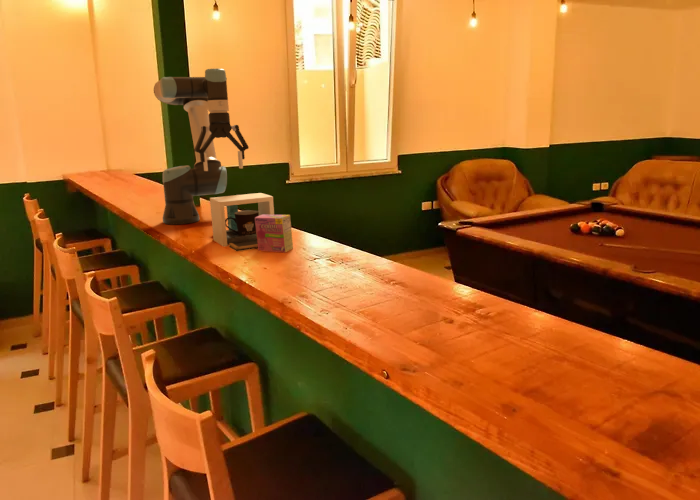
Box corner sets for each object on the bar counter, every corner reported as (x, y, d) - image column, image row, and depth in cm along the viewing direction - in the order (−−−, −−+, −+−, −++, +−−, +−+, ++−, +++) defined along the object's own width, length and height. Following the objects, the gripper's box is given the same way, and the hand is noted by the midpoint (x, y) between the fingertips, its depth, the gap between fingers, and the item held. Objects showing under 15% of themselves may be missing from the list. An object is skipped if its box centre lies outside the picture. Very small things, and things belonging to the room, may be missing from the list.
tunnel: (213, 240, 203) (209, 197, 199) (263, 233, 212) (261, 192, 208) (223, 246, 193) (219, 202, 189) (275, 239, 202) (273, 196, 198)
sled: (213, 235, 211) (210, 200, 208) (251, 229, 218) (249, 196, 215) (229, 245, 194) (226, 208, 191) (270, 239, 201) (267, 203, 198)
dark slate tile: (229, 246, 193) (229, 243, 192) (272, 240, 200) (272, 237, 200) (236, 251, 186) (236, 247, 185) (281, 244, 193) (281, 241, 193)
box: (257, 251, 186) (254, 217, 183) (266, 247, 192) (263, 213, 188) (285, 253, 183) (282, 218, 180) (293, 249, 188) (290, 214, 185)
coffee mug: (263, 236, 206) (261, 210, 204) (257, 242, 198) (255, 214, 195) (232, 237, 207) (230, 210, 205) (225, 242, 199) (222, 214, 197)
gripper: (187, 112, 199) (193, 172, 204) (254, 111, 211) (258, 167, 215) (182, 113, 205) (188, 171, 210) (247, 111, 217) (251, 166, 222)
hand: (223, 169), depth 213 cm, fingers open, 13 cm apart
